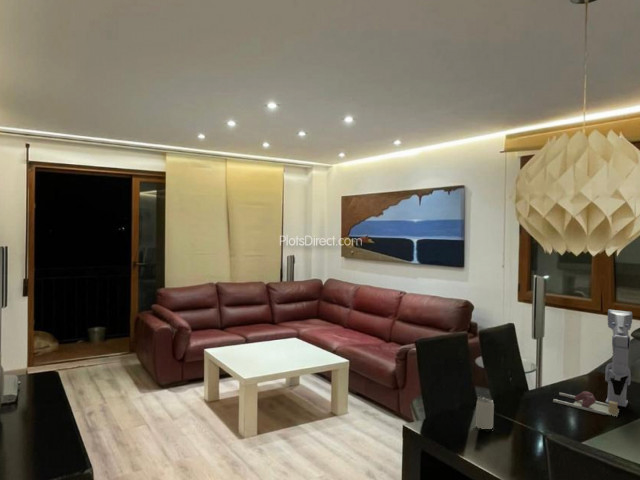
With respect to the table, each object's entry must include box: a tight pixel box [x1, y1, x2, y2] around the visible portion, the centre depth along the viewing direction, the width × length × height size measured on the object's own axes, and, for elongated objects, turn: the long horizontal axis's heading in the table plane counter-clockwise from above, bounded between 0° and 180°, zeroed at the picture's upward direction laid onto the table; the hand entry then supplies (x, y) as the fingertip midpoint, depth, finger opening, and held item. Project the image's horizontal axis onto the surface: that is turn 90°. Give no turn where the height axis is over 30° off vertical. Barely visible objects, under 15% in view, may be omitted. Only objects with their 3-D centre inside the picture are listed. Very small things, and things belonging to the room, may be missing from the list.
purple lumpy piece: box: [574, 390, 596, 407], centre depth 202 cm, size 10×5×7 cm, turn 169°
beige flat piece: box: [573, 400, 620, 418], centre depth 199 cm, size 10×17×4 cm, turn 50°
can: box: [475, 396, 495, 429], centre depth 173 cm, size 6×6×12 cm
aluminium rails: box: [552, 392, 609, 416], centre depth 203 cm, size 13×21×1 cm, turn 50°
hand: (618, 392), depth 194 cm, fingers open, 7 cm apart
